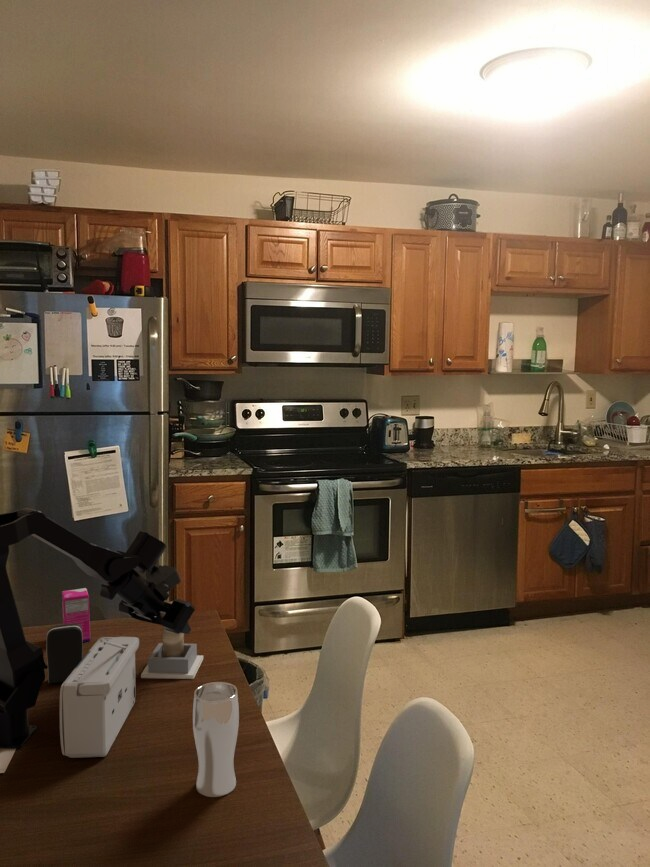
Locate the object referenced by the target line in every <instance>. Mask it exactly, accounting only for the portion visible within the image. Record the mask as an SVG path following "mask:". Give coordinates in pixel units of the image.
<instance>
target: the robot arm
mask: <svg viewBox="0 0 650 867" xmlns="http://www.w3.org/2000/svg"><path fill="white" fill-rule="evenodd" d="M29 536H32V537H34V538H36V539H38V540H39V541H41V542H43V543H44V544H46V545H48V546H49V547H52V548H53V549H55V550H56V551H58V552H60V553H63V554H64V555H65V556H68V557H69V558H71V559H72V561H74V563H75V564H76V565H77V567H78V568H79V569H81V570H82V571H83V572H84V573H85V574H86V575H88V576H90V577H92V578H96V579H98V580H101V581H102V580H103V581H105V582H104V583H102V584H101V585H100V592H99V596H100V597H102V598H105V599H108V600H110V601H111V600H113V599H114V598H115V597H116V596H117V597H118V598H120V602H119V603H118V611H119V612H120V613H121V614H123V616H124V615H125V616H127V617H129V618H132V619H135V620H137V621H141V622H146V623H151V624H154V625H159V626H162V628H163V627H164V628H165V630H168V631H171V632H174V633H177V634H179V633H184V635H185V634H186V635H189V634H190V633H191V631H192V629H191V626H190V623H189V620H190V619H191V617H192V616H193V614H194V612H195V610H196V607H195V606H194V605H193V604H192V603H191V602H190V601H186V600H184V599H180V598H177V599H174V600H172V601H173V603H172V604H170V603H167V602H168V599H169V597H170V595H171V594H169V592H170V591H172V589H173V588H174V587H176V586H177V585H179V584H180V583H181V581H182V579H181V577H180V575H179V572H178V569H177V567H174V566H170V565H165V564H164V565H158V566H157V564H158V562H159V560H160V559H161V557H162V555H163V554H164V552H165V551H166V550H167V548H168V547H167V545H166V544H165V543H164V541H162V540H159V539H158V538H156V537H154V536H153V535H151V534H149V533H148V532H147V531H144V530H139V531H138V533H137V535H136V536H135V537H134V540H133V541H132V543H131V544H130V546H129V547H128V549H127V550H126V551H125V552H124V551H120V550H113V549H110V548H106V547H103V546H100V545H98V544H94V543H91V542H90V541H88V540H87V539H84V538H83V537H81V536H80V535H79V534H77V533H74V532H73V531H72V530H69V529H68V528H67V527H65V526H63V525H61V524H60V523H58V522H56V521H55V520H53V519H51V518H50V517H49V516H46V515H45V513H44V512H43V511H41V510H38V509H33V508H30V507H29V508H28V507H23V508H20V509H17V510H14V511H10V512H4V513H0V748H4V749H5V748H7V749H8V748H10V749H12V748H13V749H15V748H17V749H18V748H19V749H20V748H22V746H24V744H25V743H26V742H27V741H28V740H29V739H30V737H31V736H33V734H34V732H36V730H37V729H38V726H37V725H34V724H33V725H30V724H29V709H31V708H33V707H35V706H36V704H37V703H36V702H37V700H38V696H39V693H40V691H41V690H40V689H41V687H42V685H43V683H44V682H45V680H46V678H47V676H46V670H48V665H47V664H46V662H45V659H44V651H43V648H42V647H41V646H39V645H37V644H34V643H33V642H30V641H28V640H27V639H26V636H25V632H24V628H23V626H22V621H21V617H20V614H19V611H18V607H17V603H16V599H15V595H14V592H13V589H12V584H11V582H10V577H9V574H8V570H7V563H8V560H9V556H10V546H12V545H16V544H18V543H20V542H21V541H23V540H25V539H26V538H28V537H29ZM138 572H139V573H138ZM140 573H142V574H144V573H145V578H146V579H145V578H144V577H143V576H142V575H140ZM160 613H161V614H164V617H163V618H162V617H161V616H160Z"/></svg>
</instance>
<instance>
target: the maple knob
mask: <svg viewBox="0 0 650 867" xmlns="http://www.w3.org/2000/svg"><path fill="white" fill-rule="evenodd" d="M173 601H174V600H172V601H166V602H167V603H170V604H172V603H173ZM160 616H161V617H162V618H163V617H164V614H161V613H160ZM184 641H185V634H184V633H179V634H177V633H174V632H171V631H168V630H165V628H164V627H163V626H162V643H163V657H183V652H184V643H185V642H184Z"/></svg>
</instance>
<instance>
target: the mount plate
mask: <svg viewBox="0 0 650 867" xmlns="http://www.w3.org/2000/svg"><path fill="white" fill-rule="evenodd" d="M197 646H198V645H197V643H185V642H184V652H183V657H163V642H158V644H157V645H156V647H155V648H154V649H153V651H152V653H151V654H150V656H149V657H148V658H147V664H146V666H145V668H144V669H143V670H142V672H141V674H140V679H171V680H172V679H174V680H194V679H195V677H196V675H197V672H198V670H199V668H200V666H201V664H202V662H203V660H204V654H203V655H199V654H198V651H197V650H198V648H197Z"/></svg>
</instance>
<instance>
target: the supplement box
mask: <svg viewBox="0 0 650 867" xmlns="http://www.w3.org/2000/svg"><path fill="white" fill-rule="evenodd" d="M61 599H62V601H61V602H62V604H61V605H62V606H61V607H62V625H63V624H78V625H79V626H80V627H81V630H82V636H83V643H87V642H86V641H88V642H91V637H92V636H91V620H90V595H89V593H88V589H87V588H86V587H83V588H77V589H69V590H63V591H61Z"/></svg>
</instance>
